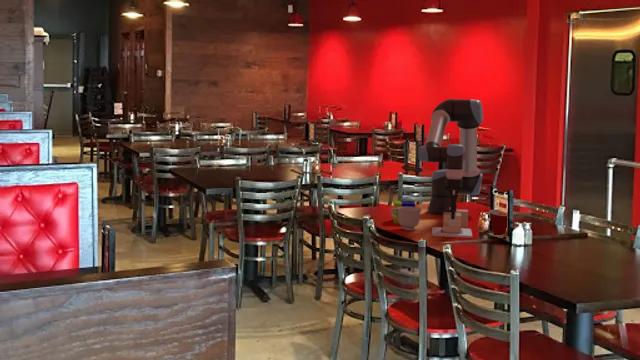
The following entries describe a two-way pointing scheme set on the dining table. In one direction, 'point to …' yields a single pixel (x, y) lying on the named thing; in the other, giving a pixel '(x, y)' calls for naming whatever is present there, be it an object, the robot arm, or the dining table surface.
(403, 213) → the teacup
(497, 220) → the plastic cup
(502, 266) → the dining table surface
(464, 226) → the terracotta block
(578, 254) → the dining table surface
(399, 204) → the puzzle toy
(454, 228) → the oak cube
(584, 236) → the dining table surface
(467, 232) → the base
